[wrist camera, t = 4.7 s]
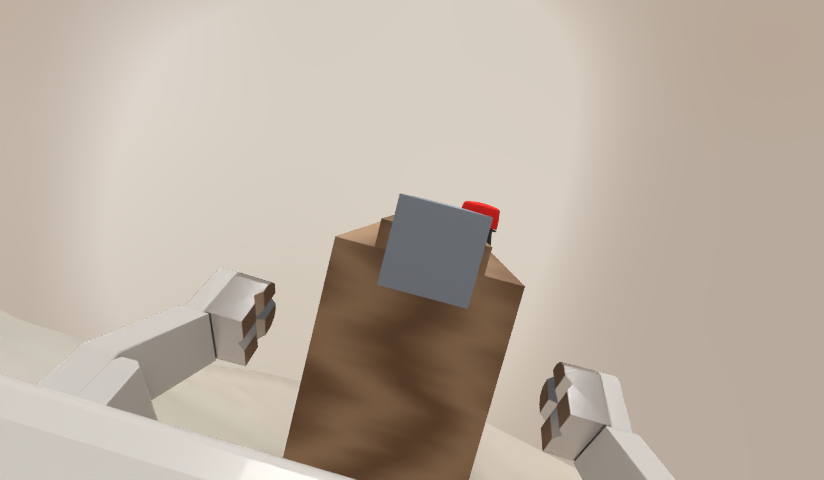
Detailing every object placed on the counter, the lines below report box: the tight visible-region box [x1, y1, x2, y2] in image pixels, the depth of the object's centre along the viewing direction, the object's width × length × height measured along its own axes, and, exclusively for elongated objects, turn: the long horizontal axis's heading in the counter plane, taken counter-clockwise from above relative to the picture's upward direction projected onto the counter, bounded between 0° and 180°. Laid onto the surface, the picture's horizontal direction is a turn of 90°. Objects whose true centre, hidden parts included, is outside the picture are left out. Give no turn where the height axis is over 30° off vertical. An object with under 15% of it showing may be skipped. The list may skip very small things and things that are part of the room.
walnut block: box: [283, 215, 525, 480], centre depth 30 cm, size 10×16×28 cm, turn 176°
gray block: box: [377, 194, 493, 309], centre depth 23 cm, size 3×20×3 cm, turn 176°
